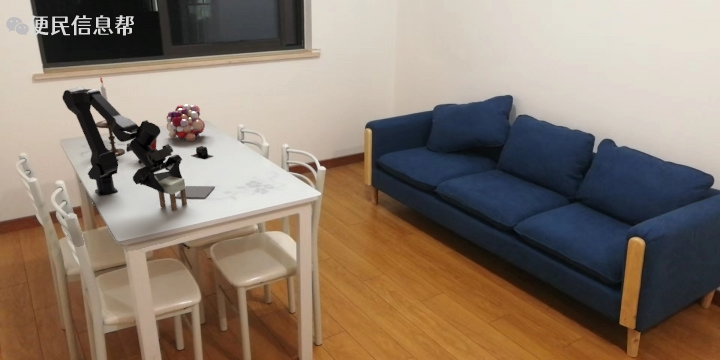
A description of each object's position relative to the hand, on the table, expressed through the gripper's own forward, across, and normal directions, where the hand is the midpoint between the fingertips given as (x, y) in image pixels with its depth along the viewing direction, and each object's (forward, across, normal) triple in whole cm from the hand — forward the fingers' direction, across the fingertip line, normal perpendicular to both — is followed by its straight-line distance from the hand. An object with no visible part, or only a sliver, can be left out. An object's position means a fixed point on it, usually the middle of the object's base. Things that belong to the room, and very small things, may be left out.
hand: (173, 187), depth 194 cm
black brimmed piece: (-16, +49, +27) cm, 58 cm away
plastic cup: (-31, +38, +41) cm, 64 cm away
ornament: (-35, +68, +45) cm, 89 cm away
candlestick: (-44, +35, +54) cm, 78 cm away
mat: (+3, +13, +7) cm, 15 cm away
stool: (+4, 0, +6) cm, 7 cm away
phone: (-11, +19, +22) cm, 31 cm away
